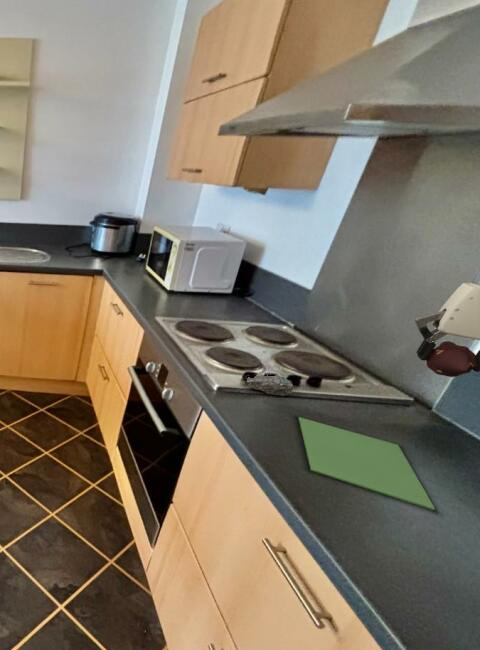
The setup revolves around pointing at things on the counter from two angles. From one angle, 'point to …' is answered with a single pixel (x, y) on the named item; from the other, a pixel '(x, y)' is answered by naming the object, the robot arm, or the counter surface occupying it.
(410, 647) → the counter surface
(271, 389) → the rock
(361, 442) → the cloth
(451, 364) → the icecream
